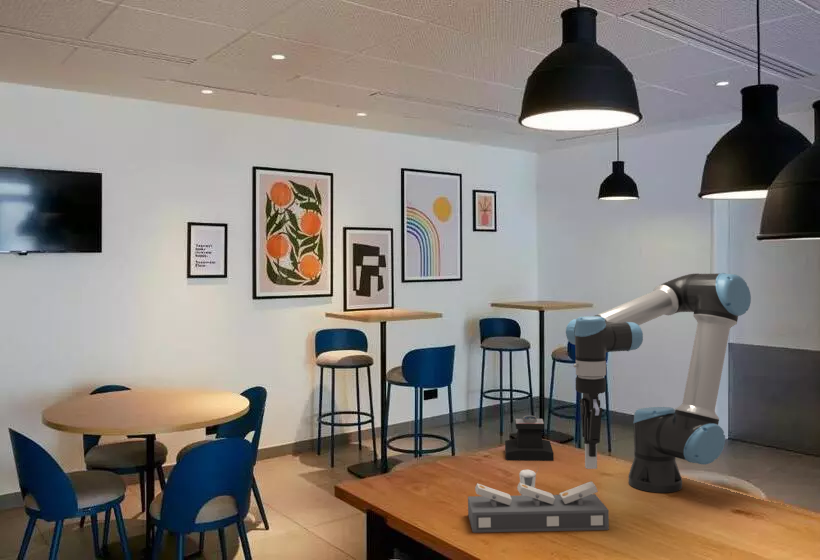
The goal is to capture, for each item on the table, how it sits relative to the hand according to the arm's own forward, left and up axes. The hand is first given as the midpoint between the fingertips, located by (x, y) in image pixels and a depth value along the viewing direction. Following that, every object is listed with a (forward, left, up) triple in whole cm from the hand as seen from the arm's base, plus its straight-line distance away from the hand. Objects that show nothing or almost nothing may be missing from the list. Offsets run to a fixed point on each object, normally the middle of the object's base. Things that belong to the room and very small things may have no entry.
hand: (591, 467), depth 177 cm
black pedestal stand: (+5, -63, -14) cm, 65 cm away
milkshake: (+13, -15, -14) cm, 24 cm away
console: (+14, 0, -14) cm, 20 cm away
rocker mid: (+14, 0, -6) cm, 16 cm away
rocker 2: (+3, 0, -6) cm, 7 cm away
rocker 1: (+25, 0, -6) cm, 26 cm away
